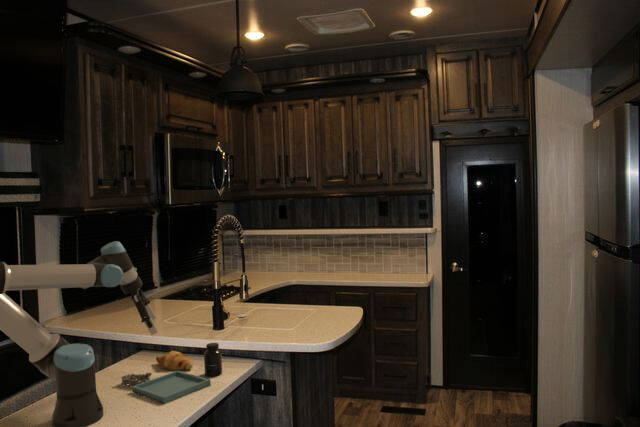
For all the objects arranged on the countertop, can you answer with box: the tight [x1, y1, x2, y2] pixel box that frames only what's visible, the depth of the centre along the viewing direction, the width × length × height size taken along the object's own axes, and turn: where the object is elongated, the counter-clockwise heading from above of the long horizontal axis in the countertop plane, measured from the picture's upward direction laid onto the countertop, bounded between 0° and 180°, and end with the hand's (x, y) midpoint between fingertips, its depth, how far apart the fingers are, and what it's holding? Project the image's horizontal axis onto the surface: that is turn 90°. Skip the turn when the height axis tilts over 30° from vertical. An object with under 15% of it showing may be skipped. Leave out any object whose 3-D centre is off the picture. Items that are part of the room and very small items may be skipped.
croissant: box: [155, 350, 194, 371], centre depth 216 cm, size 21×10×8 cm, turn 59°
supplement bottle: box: [203, 342, 223, 378], centre depth 205 cm, size 7×7×12 cm
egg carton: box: [119, 372, 153, 387], centre depth 198 cm, size 11×8×4 cm
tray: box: [131, 370, 212, 405], centre depth 190 cm, size 20×20×2 cm
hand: (154, 326), depth 200 cm, fingers open, 13 cm apart
